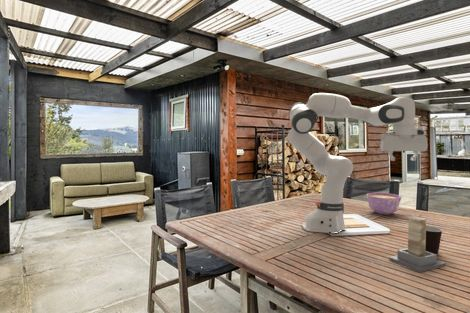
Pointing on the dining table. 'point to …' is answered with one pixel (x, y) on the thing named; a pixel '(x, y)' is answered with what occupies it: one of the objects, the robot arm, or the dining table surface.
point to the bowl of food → (383, 202)
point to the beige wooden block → (417, 236)
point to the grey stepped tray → (417, 260)
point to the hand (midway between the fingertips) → (402, 160)
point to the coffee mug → (433, 239)
